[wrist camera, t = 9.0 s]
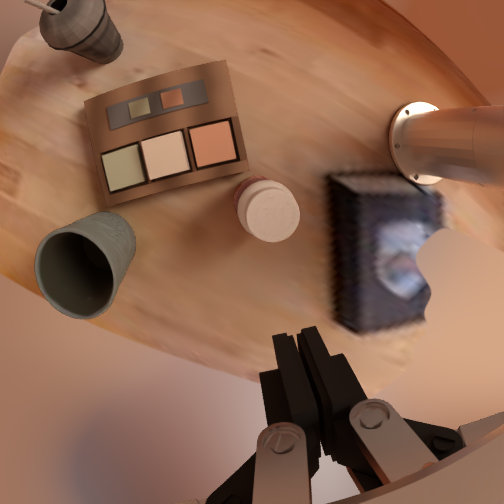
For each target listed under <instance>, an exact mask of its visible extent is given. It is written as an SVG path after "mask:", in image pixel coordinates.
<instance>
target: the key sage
mask: <svg viewBox="0 0 504 504" xmlns="http://www.w3.org/2000/svg"><path fill="white" fill-rule="evenodd" d="M102 158H103V163H104V167H105V171H106V176H107V180H108V184H109V188H110V192H111V191H114V190H117V189H120V188H123V187H127V186H130V185H133V184H137V183H140V182H144V181H146V180H148V179H147V175H146V170H145V166H144V162H143V158H142V153H141V149H140V145H133V146H130V147H127V148H124V149H121V150H118V151H115V152H112V153H109V154H106V155H103V156H102Z"/></svg>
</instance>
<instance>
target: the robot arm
mask: <svg viewBox="0 0 504 504" xmlns="http://www.w3.org/2000/svg"><path fill="white" fill-rule="evenodd" d="M389 145H390V151H391V155H392V158H393V160H394V162H395V165H396V166H397V168H398V169H399V171H400V172H401V173H402V174H403V175H404V176H405V177H406V178H407V179H409V180H410V181H412V182H414V183H417V184H421V185H431V184H435V183H437V182H439V181H440V180H442V179H443V178H445V179H450V180H454V181H459V182H464V183H468V184H473V185H477V186H482V187H486V188H490V189H494V190H499V191H503V192H504V105H503V106H502V105H501V106H482V107H466V108H453V109H442V110H438V109H437V108H436V107H434V106H433V105H431V104H428V103H426V102H413V103H409V104H407V105H405V106H403V107H402V108H401V109H400V110H399V111H398V112H397V113H396V115H395V116H394V118H393V120H392V123H391V126H390V131H389ZM272 339H273V344H274V349H275V354H276V360H277V365H278V369H275V370H270V371H266V372H260V373H259V376H260V382H261V388H262V393H263V400H264V406H265V412H266V418H267V424H268V427H267V428H265V429H264V430H263V431H262V432H261V433H260V435H259V436H258V440H257V450H256V452H255V453H254V455H252V456H251V457H250V458H249V459H248V460H247V461H246V462H245V463H244V464H243V465H242V466H241V467H240V468H239V469H238V470H237V471H236V472H235V473H234V474H233V475H232V476H231V477H229V478H228V479H227V480H226V481H225V482H224V483H223V484H222V485H221V486H220V487H218V488H217V489H216V490H215V491H214V492H213V493H212V494H211V495H210V496H209V497H208V498H207V499H203V500H199V501H198V500H197V499H193V500H188V501H184V502H179V503H174V504H312V492H311V478H312V477H313V476H314V474H315V473H316V472H317V470H318V469H319V458H320V457H321V446H320V441H321V444H322V447H323V450H324V454H325V455H326V456H327V455H331V457H332V460H333V462H334V461H337V463H338V464H341V465H343V466H346V468H347V471H348V473H349V474H350V476H351V478H352V479H353V481H354V483H355V484H356V486H357V488H358V490H359V491H360V493H361V494H359V495H355V496H352V497H349V498H345V499H342V500H339V501H335V502H331V503H327V504H504V412H500V413H497V414H495V415H492V416H489V417H487V418H483V419H480V420H478V421H475V422H471V423H468V424H465V425H462V426H459V428H458V429H457V430H453V429H449V428H446V427H441V426H436V425H431V424H427V423H422V422H417V421H413V420H409V419H405V418H402V417H401V416H400V415H399V414H398V413H397V412H396V410H395V409H394V408H393V407H392V405H390V404H389V403H388V402H386V401H384V400H381V399H368V398H367V396H366V394H365V393H364V391H363V389H362V387H361V385H360V383H359V381H358V380H357V378H356V376H355V374H354V372H353V370H352V368H351V367H350V365H349V363H348V361H347V359H346V357H345V356H344V354H342V353H341V354H338V355H334V356H330V354H329V352H328V350H327V348H326V346H325V344H324V342H323V340H322V338H321V336H320V334H319V332H318V330H317V328H316V326H313V327H309V328H304V329H301V333H299V334H297V342H298V349H297V346H296V343H295V341H294V338H293V335H291V336H287V334H286V333H282V334H278V335H273V336H272ZM298 350H299V352H298Z"/></svg>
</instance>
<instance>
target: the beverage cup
mask: <svg viewBox="0 0 504 504" xmlns="http://www.w3.org/2000/svg"><path fill="white" fill-rule="evenodd" d="M23 2H25V3H28V4H30V5H33V6H35V7H37V8H40V9H42V10H43V11H42V13H41V17H40V22H39V26H40V33H41V35H42V37H43V38H44V40H45V41H46V42H47V43H48V45H49V46H50V47H52V48H54V49H55V50H64V51H70V52H73V53H75V54H78V55H80V56H82V57H85V58H87V59H89V60H92V61H94V62H98V63H101V64H107V63H110V62H112V61H114V60H115V59H116V58H118V57H119V55H120V54H121V52H122V50H123V41H122V39H121V36H120V34H119V32H118V31H117V29H116V27H115V25H114V23H113V22H112V20H111V18H110V16H109V15H108V13H107V9H106V4H105V0H50V1H49V2H48V4H47V5H45V4H43V3H40V2H38V1H36V0H23Z"/></svg>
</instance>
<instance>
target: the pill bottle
mask: <svg viewBox="0 0 504 504" xmlns="http://www.w3.org/2000/svg"><path fill="white" fill-rule="evenodd" d="M234 206H235V209H236V212H237V215H238V218H239V220H240V223H241V225H242V226H243V228H244V229H245V230H246V231H247V232H248V233H250V234H251V235H253V236H255V237H257V238H258V239H260V240H262V241H265V242H271V243H272V242H280V241H282V240H285V239H286V238H288V237H289V236H290V235H292V234H293V232H294V231H295V230H296V228H297V226H298V223H299V220H300V210H299V206H298V204H297V202H296V200H295V199H294V197H293V195H292V193H291V192H290V191H289V189H288V188H287V187H285V186H284V185H283V184H281V183H279V182H276V181H274V180H272V179H270V178H267V177H264V176H253V177H249V178H247V179H245V180H244V181H243V182H242V183H241V184H240V185H239V186H238V188H237V189H236V192H235V195H234Z"/></svg>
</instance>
